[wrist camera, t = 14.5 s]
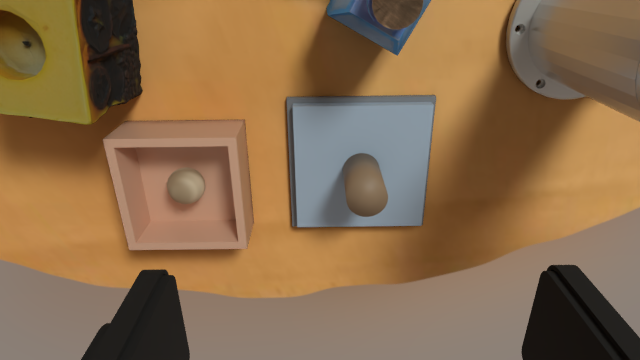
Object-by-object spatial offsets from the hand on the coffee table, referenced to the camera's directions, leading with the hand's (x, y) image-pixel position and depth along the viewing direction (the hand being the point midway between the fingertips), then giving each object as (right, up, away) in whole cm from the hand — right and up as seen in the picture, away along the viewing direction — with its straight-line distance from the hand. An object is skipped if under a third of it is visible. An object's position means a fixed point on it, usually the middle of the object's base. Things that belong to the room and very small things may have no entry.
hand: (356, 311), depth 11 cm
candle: (-22, +17, +28) cm, 39 cm away
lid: (+3, +5, +33) cm, 33 cm away
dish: (-14, +4, +34) cm, 37 cm away
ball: (-14, +3, +32) cm, 35 cm away
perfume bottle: (+4, +20, +27) cm, 33 cm away
